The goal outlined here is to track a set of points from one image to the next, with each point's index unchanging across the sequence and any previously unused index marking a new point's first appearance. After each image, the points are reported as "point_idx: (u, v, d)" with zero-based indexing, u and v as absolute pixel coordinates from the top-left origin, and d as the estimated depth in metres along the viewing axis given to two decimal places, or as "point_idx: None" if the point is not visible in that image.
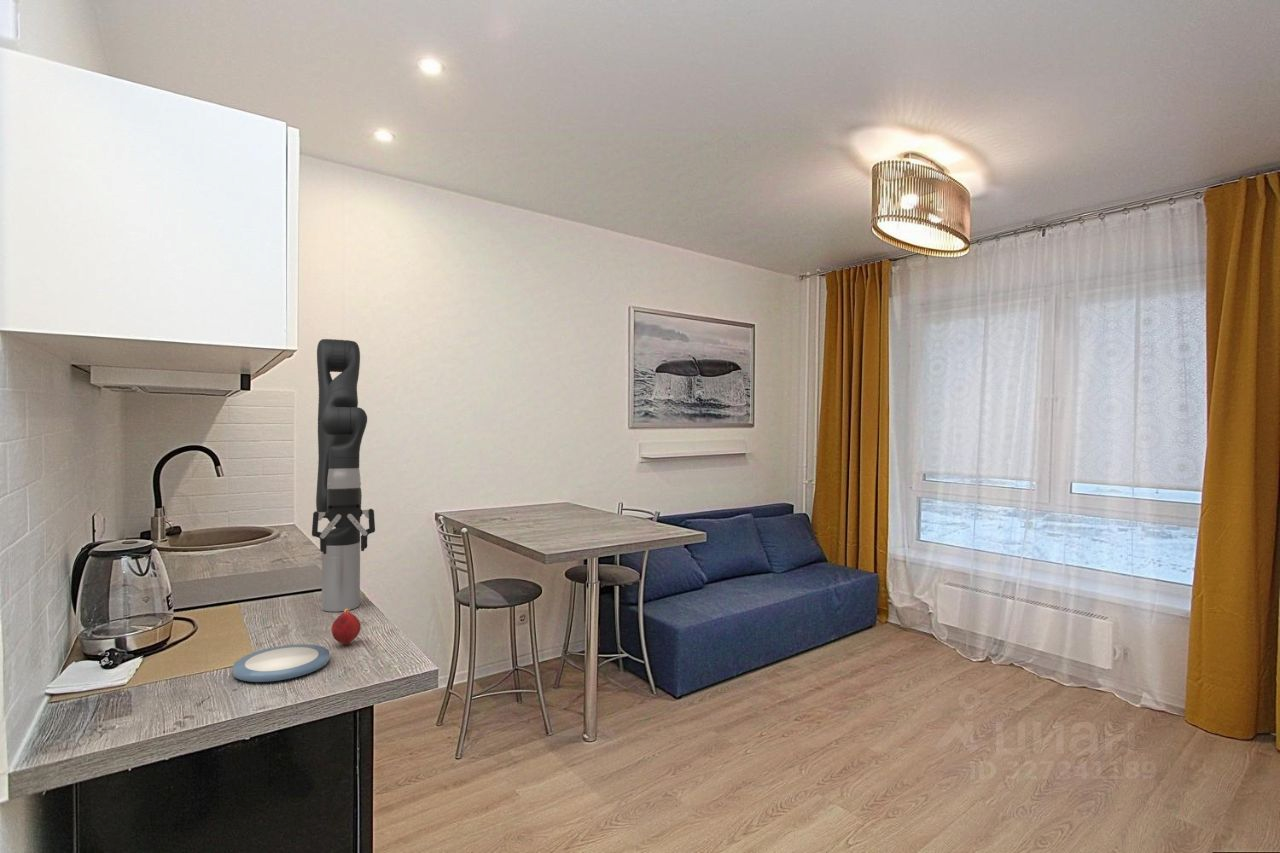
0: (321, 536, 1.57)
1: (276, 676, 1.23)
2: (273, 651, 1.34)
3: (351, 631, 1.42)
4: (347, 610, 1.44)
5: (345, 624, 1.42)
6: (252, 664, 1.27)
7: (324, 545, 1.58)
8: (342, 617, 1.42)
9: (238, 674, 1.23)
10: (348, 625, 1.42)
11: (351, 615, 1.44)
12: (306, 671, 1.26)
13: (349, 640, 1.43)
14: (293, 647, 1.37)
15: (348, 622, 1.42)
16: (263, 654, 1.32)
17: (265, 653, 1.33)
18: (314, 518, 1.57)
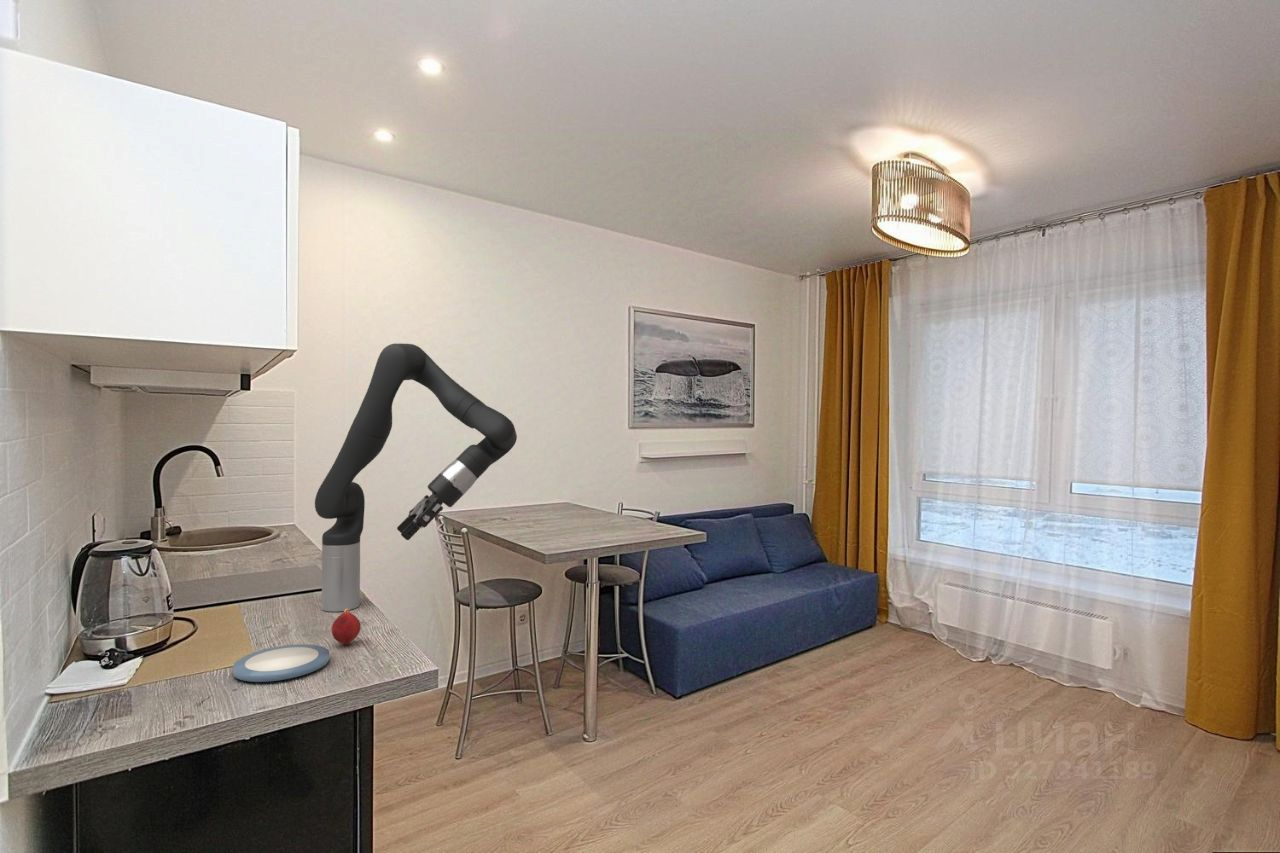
0: (422, 527, 1.46)
1: (276, 676, 1.23)
2: (273, 651, 1.34)
3: (351, 631, 1.42)
4: (347, 610, 1.44)
5: (345, 624, 1.42)
6: (252, 664, 1.27)
7: None
8: (342, 617, 1.42)
9: (238, 674, 1.23)
10: (348, 625, 1.42)
11: (351, 615, 1.44)
12: (306, 671, 1.26)
13: (349, 640, 1.43)
14: (293, 647, 1.37)
15: (348, 622, 1.42)
16: (263, 654, 1.32)
17: (265, 653, 1.33)
18: None
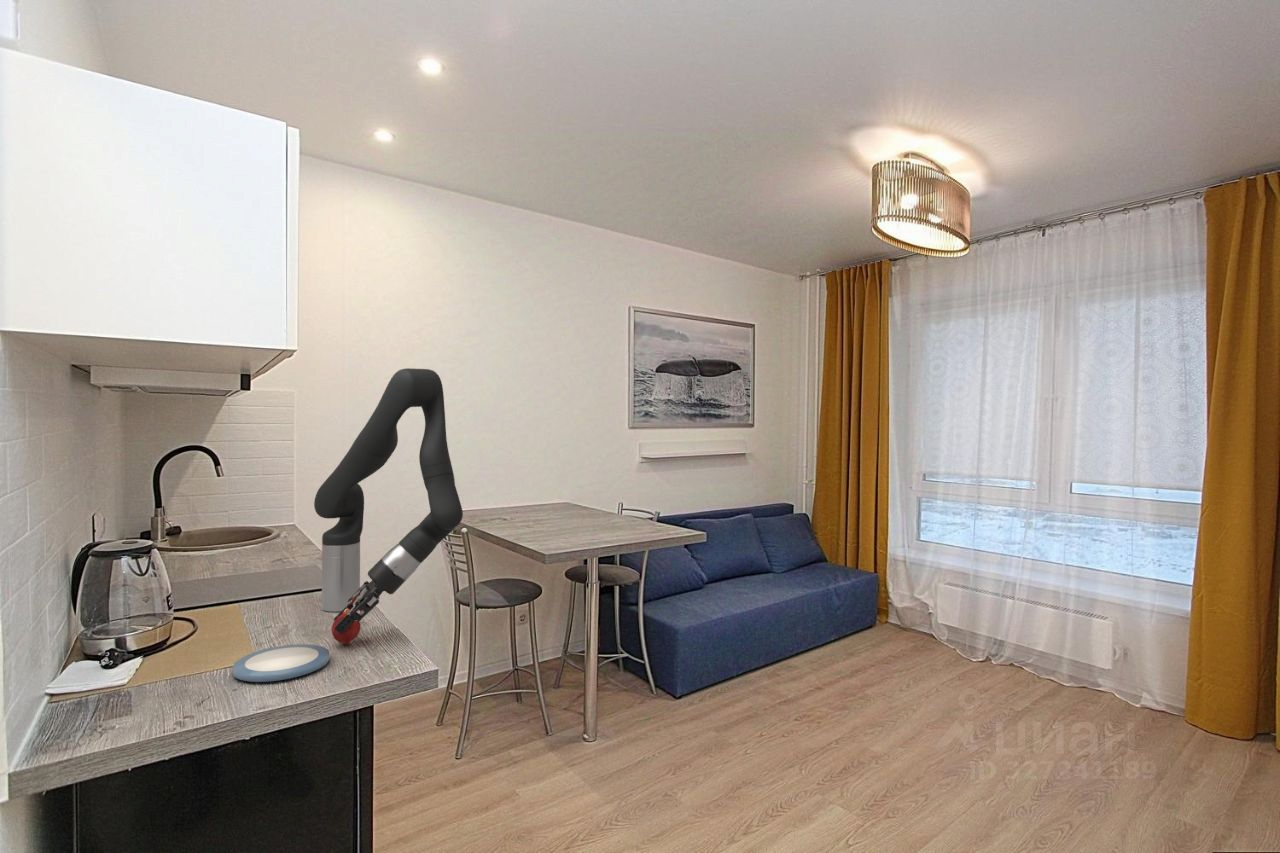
0: None
1: (276, 676, 1.23)
2: (273, 651, 1.34)
3: (351, 631, 1.42)
4: (347, 610, 1.44)
5: None
6: (252, 664, 1.27)
7: None
8: (342, 617, 1.42)
9: (238, 674, 1.23)
10: None
11: None
12: (306, 671, 1.26)
13: (349, 640, 1.43)
14: (293, 647, 1.37)
15: None
16: (263, 654, 1.32)
17: (265, 653, 1.33)
18: None
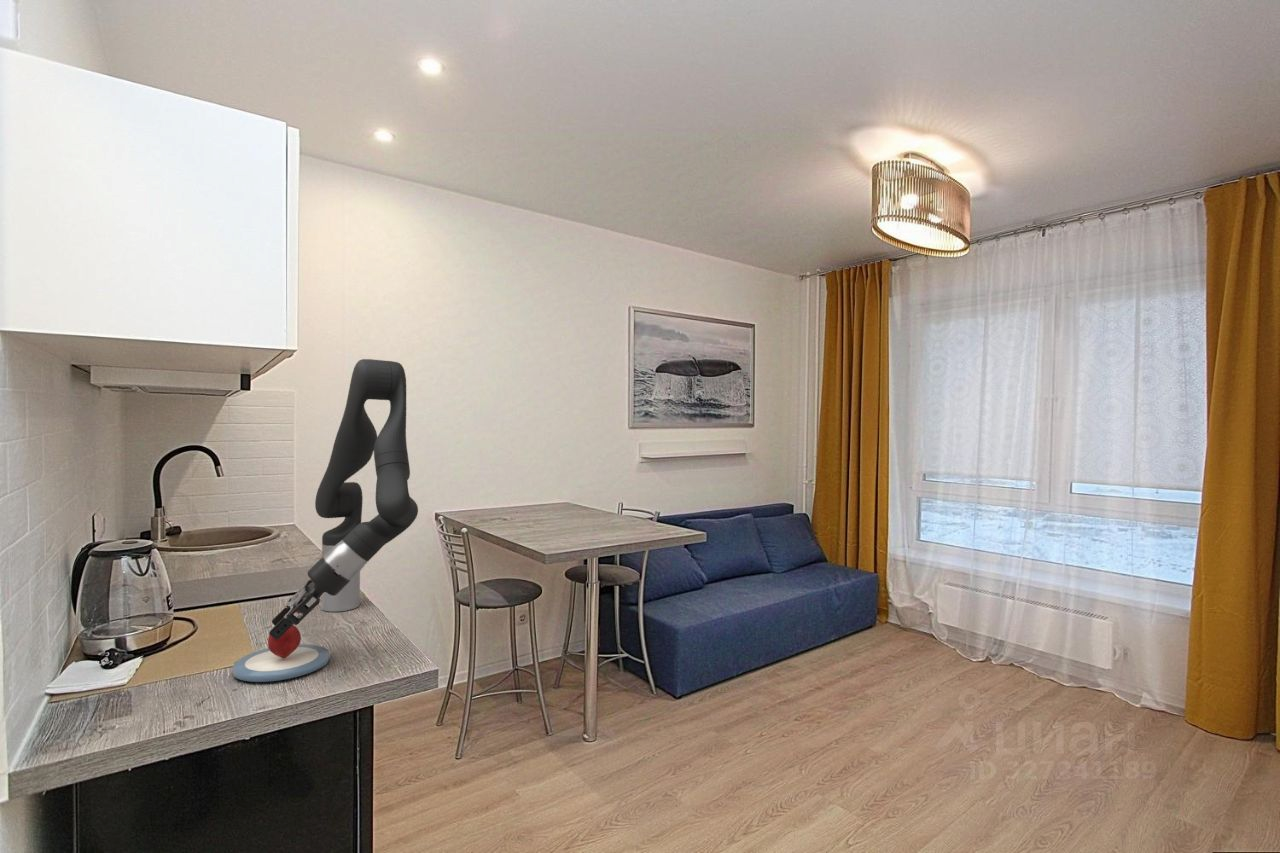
0: None
1: (276, 676, 1.23)
2: None
3: (289, 644, 1.28)
4: None
5: (282, 636, 1.28)
6: (252, 664, 1.27)
7: None
8: None
9: (238, 674, 1.23)
10: (285, 638, 1.28)
11: None
12: (306, 671, 1.26)
13: (287, 653, 1.29)
14: None
15: (286, 635, 1.28)
16: (263, 654, 1.32)
17: (265, 653, 1.33)
18: None
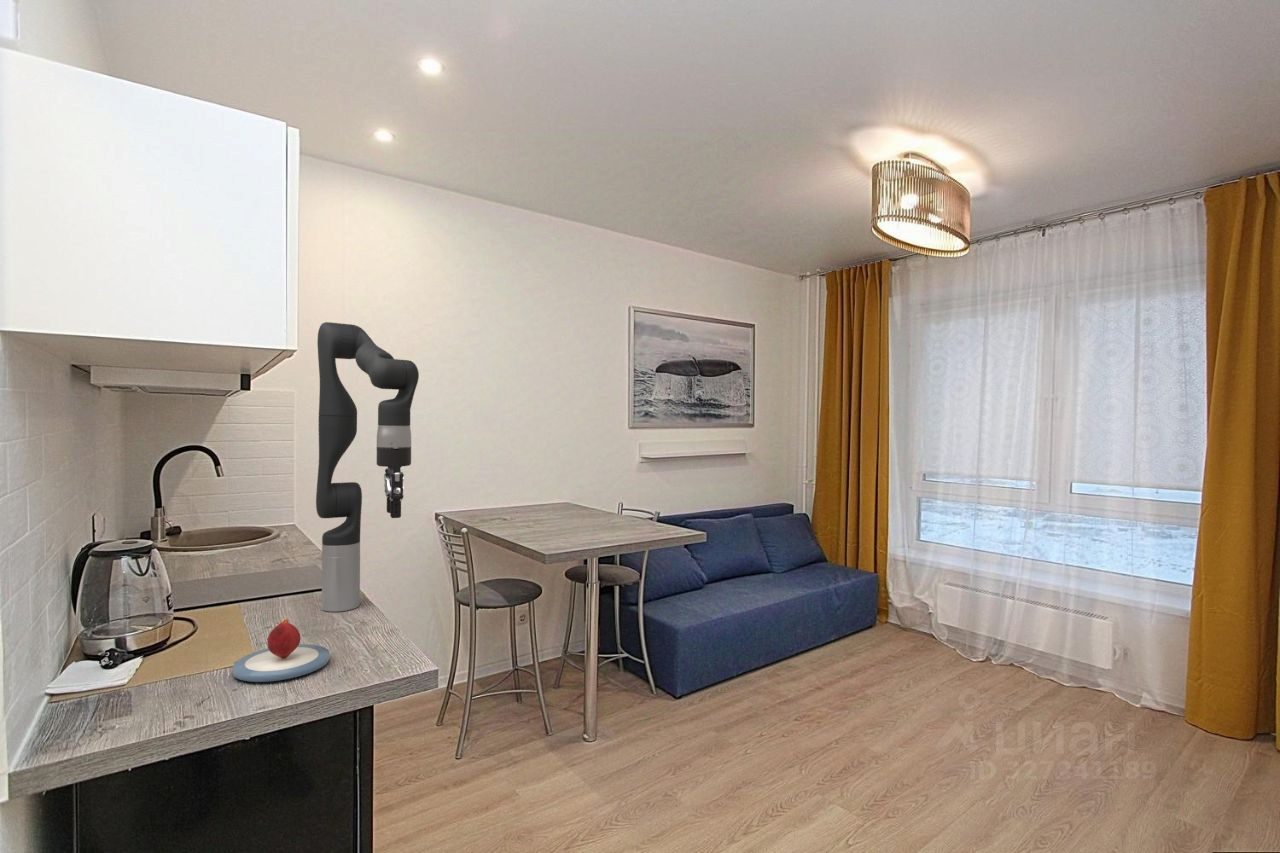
0: (402, 498, 1.46)
1: (276, 676, 1.23)
2: None
3: (289, 643, 1.28)
4: (285, 620, 1.30)
5: (282, 635, 1.28)
6: (252, 664, 1.27)
7: (400, 508, 1.46)
8: (279, 627, 1.29)
9: (238, 674, 1.23)
10: (285, 637, 1.28)
11: (289, 625, 1.30)
12: (306, 671, 1.26)
13: (286, 653, 1.29)
14: None
15: (286, 634, 1.29)
16: (263, 654, 1.32)
17: (265, 653, 1.33)
18: (402, 479, 1.44)
